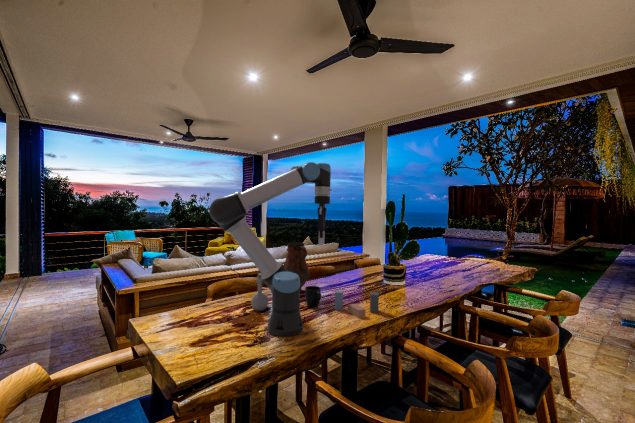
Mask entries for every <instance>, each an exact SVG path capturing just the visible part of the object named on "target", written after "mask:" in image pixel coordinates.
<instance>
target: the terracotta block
mask: <svg viewBox="0 0 635 423" xmlns="http://www.w3.org/2000/svg"><path fill="white" fill-rule="evenodd" d="M347 313H348V314H351V315H352V316H354V317H356V318H358V319H361V318H366V308H364V307H362V306H360V305H358V304H356V303H349V304H347Z"/></svg>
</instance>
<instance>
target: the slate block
mask: <svg viewBox="0 0 635 423" xmlns="http://www.w3.org/2000/svg"><path fill="white" fill-rule="evenodd" d="M343 309H344V290H338V289H336V290H335V291H334V311H343Z"/></svg>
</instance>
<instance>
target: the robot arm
mask: <svg viewBox="0 0 635 423" xmlns="http://www.w3.org/2000/svg"><path fill="white" fill-rule="evenodd" d="M331 172H332V170H331V165H330V163H327V162H326V163H325V162H322V163H320V162H319V163H318V162H317V163H316V162H313V161H312V162H311V161H310V162H306V163H304V164H303V165H300V166H299V165H298V166H291V168H290V170H289V171H287V172H285V173H282V174H280V175H278V176H276V177H273V178H271V179H269V180H267V181H265V182H262V183H260V184H258V185H255V186H254V187H251V188H248V189H246V190H244V191H242V192H238V191H236V192H234V193H231V194H228V195H226V196H220V197H218V198H215V199H214V200H213V201H212V202H211V203H210V206H209V216H210V218H211V219H212V221H214V222H215V223H217V224H218V226H219V227H220V228H221V229H222V230H223V233H224V232H225V233H229V234H230V235H231V236H232V238H234V240H235V241H236V242H237V244H238V245H239V247H241V249H242V250H243V251H244V253H245V254H246V255H247V257H248V258H249V259H250V260H251V262H252V263H253V264H254V265H255V267H256V268H257V269H258V270H259V273H262V277H261V278H262V280H263V281H262V282H264V283H265V285H266V286H267V287H268V289H269V290H270V292H271V294H272V296H271V297H272V298H271V307H272V308H271V314H270V317H269V320H268V322H267V332H268V333H269V334H270V335H273V336H276V337H284V338H285V337H287V338H288V337H293V336H297V335H299V334H301V333H302V332H303V330H304V322H303V319H302V318H303V317H302V315H301V312H300V303H301V302H300V299H301V298H300V296H301V295H300V277H299V276H298V275H297V274H296V273H293V272H289V271H288V270H287V269H286V268H285V266H284V263H283V262H280V261H277V260H276V259H275V257H274V256H273V255H272V254H271V252H270V251H269V250H268V248H267V246H266V245H265V244H264V243H263V242H262V240H261V239H260V238H259V237H258V236H257V234H256V232H254V230H253V229H252V228H251V226H250V225H249V223H248V222H247V220H246V219H247V214H248V213H249V211H250V210H251V209H253V208H256V207H257V206H259V205H262V204H264V203H267V202H268V201H271V200H272V199H275V198H276V197H279V196H281V195H284V194H286V193H288V192H289V191H292V190H294V189H296V188H299V187H300V186H304V185H305V184H314V195H315V196H314V204H316V205H318V207H317V223H318V224H317V229H316V231H317V232H318V241H317V242H318V245H322V246H323V245H325V234H326V233H325V231H327V229H326V219H327V218H326V217H327V207H326V205H330V204H331V196H330V195H331V191H332V189H331V177H332V173H331Z"/></svg>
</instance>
